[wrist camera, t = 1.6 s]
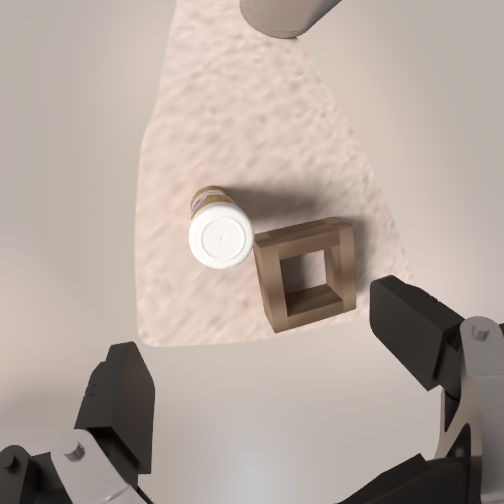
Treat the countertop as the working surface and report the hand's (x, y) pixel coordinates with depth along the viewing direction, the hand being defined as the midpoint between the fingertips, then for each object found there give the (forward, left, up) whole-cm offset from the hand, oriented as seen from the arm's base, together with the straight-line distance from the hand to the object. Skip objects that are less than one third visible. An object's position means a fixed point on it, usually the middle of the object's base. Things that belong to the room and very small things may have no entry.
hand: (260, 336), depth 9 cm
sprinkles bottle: (0, 0, -25) cm, 25 cm away
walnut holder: (+9, +9, -25) cm, 28 cm away
